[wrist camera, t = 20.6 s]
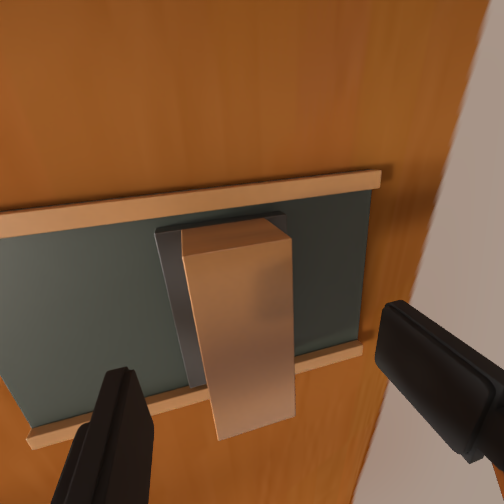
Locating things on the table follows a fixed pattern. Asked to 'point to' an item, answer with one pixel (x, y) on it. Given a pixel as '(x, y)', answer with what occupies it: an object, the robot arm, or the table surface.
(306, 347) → the slate board
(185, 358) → the eraser
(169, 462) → the table surface
